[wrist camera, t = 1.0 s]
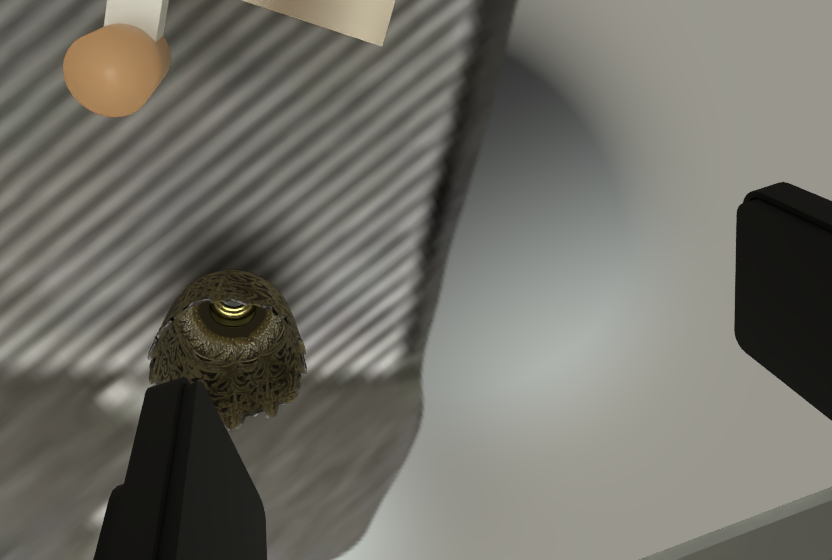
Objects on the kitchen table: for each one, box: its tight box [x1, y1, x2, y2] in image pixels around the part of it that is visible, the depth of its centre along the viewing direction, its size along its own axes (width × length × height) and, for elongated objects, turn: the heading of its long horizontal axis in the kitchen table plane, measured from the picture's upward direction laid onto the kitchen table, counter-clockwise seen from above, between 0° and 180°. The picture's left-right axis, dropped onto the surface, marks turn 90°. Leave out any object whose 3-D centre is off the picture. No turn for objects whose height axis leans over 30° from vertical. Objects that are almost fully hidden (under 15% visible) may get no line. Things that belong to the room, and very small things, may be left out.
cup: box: [148, 270, 307, 431], centre depth 34 cm, size 8×7×8 cm
